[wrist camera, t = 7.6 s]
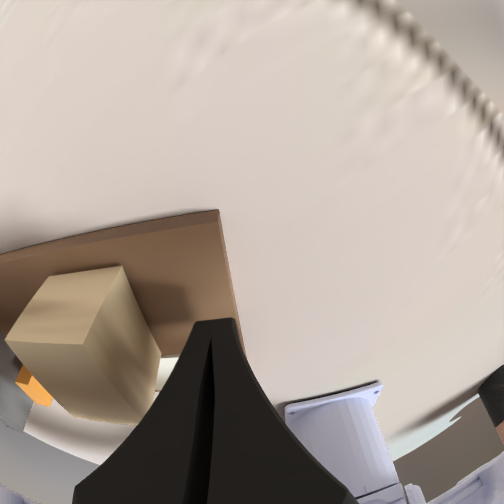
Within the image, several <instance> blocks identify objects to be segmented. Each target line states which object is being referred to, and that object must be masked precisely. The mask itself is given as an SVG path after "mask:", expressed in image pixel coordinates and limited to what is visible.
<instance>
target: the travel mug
mask: <svg viewBox="0 0 504 504" xmlns="http://www.w3.org/2000/svg"><path fill="white" fill-rule="evenodd" d="M478 394H479V396H480V398H481V399H482V402H483V403H484V405H485V407H486V409H487V411H488V414H489V416H490V417H491V420H492V422H493V424H494V426H495V428H496V430H497V432H498V434H499V436H500V438H501V440H502V443H503V444H504V365H503V366H501V367H500V368H499V369H498V370H496V371H495V372H494V373H493V374H492V375H491V376H490V377H489V378H488V379H487V380H486V381H485V382H484V383H483V384H482V386H481V387H480V388H479V390H478Z"/></svg>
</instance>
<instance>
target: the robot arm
mask: <svg viewBox="0 0 504 504" xmlns="http://www.w3.org/2000/svg"><path fill="white" fill-rule="evenodd" d="M382 388H383V384H382V382H378V383H374V384H371V385H368V386H365V387H361V388H358V389H354V390H350V391H347V392H343V393H339V394H335V395H331V396H327V397H322V398H318V399H313V400H308V401H303V402H298V403H292V404H288V405H286V406H285V422H284V421H283V420H282V418H281V417H280V416H279V414H278V413H277V411H276V410H275V408H274V407H273V406H272V404H271V403H270V401H269V399H268V398H267V396H266V395H265V393H264V391H263V390H262V388H261V386H260V384H259V383H258V381H257V379H256V377H255V375H254V373H253V371H252V369H251V367H250V365H249V363H248V361H247V359H246V356H245V354H244V352H243V349H242V346H241V343H240V339H239V334H238V329H237V325H236V320H235V319H234V318H232V317H229V318H221V319H212V320H203V321H196V322H195V323H194V325H193V328H192V330H191V332H190V335H189V337H188V339H187V342H186V344H185V346H184V348H183V350H182V352H181V354H180V356H179V358H178V360H177V362H176V364H175V366H174V368H173V370H172V372H171V374H170V376H169V377H168V379H167V381H166V383H165V384H164V386H163V388H162V389H161V391H160V393H159V395H158V396H157V398H156V399H155V401H154V402H153V404H152V405H151V407H150V408H149V410H148V411H147V413H146V414H145V416H144V417H143V418H142V420H141V421H140V422H139V424H138V425H137V426H136V427H135V429H134V430H133V431H132V432H131V434H130V435H129V436H128V437H127V438H126V440H125V441H124V442H123V443H122V444H121V445H120V446H119V447H118V448H117V449H116V450H115V451H114V452H113V453H112V454H111V456H110V457H109V458H108V459H107V460H106V461H105V462H104V463H103V464H101V465H100V466H99V467H98V468H97V469H96V470H95V471H93V472H92V473H91V474H90V475H89V476H87V477H86V478H85V479H84V480H82V481H81V482H80V483H79V484H78V485H76V486H75V489H74V494H73V501H72V504H408V503H409V504H504V452H502V453H501V454H500V455H499V456H497V457H496V458H494V459H493V460H491V461H490V462H488V463H486V464H484V465H483V466H481V467H479V468H478V469H476V470H475V471H473V472H472V473H471V474H470V475H468V476H466V477H465V478H463V479H462V480H461V481H459V482H458V483H457V485H456V486H455V487H453V488H452V489H450V490H448V491H447V492H445V493H443V494H442V495H440V496H438V497H437V498H435V499H433V500H431V501H430V502H428V503H426V502H425V499H424V496H423V494H422V491H421V489H420V487H419V486H417V485H412V484H408V485H406V486H404V487H405V490H406V493H407V500H408V503H407V500H406V497H405V493H404V490H403V487H402V484H401V483H399V479H398V476H397V473H396V470H395V467H394V465H393V462H392V459H391V456H390V453H389V450H388V448H387V445H386V442H385V439H384V437H383V434H382V431H381V429H380V426H379V423H378V421H377V418H376V416H375V413H374V410H373V406H374V404H375V402H376V400H377V398H378V396H379V394H380V392H381V390H382ZM397 483H399V484H397ZM396 484H397V485H396ZM394 485H395V486H394ZM389 487H390V488H389ZM0 504H39V503H37V502H35V501H34V500H32V499H30V498H28V497H26V496H23V495H21V494H19V493H17V492H15V491H13V490H11V489H9V488H7V487H6V486H4V485H3V484H1V483H0Z"/></svg>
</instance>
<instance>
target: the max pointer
mask: <svg viewBox="0 0 504 504" xmlns="http://www.w3.org/2000/svg"><path fill="white" fill-rule="evenodd" d="M15 383H16V384H17V385H18V386H19V387H20V388H21V389H22V390H23V391H24V392H25V393H26V394H27V395H28V396H29V397H30V398H31V399H32V400H33V401H34V402H35V403H36V404H40V405H44V406H48V407H50V404H51V401H52V398H53V397H52V396H51V395H50V394H49V393H48V392H47V391H46V390H45V389H44V388H43V386H42V385H41V384H40V383H39V382H38V381H37V380H36V379H35V378H34V377H33V375H32V374H31V373H30V372H29V371H28V370H27V368H26V367H25V366H24V365H23V366H22V368H21V370H20V372H19V374H18V376H17V378H16V380H15Z"/></svg>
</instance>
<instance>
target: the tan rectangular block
mask: <svg viewBox="0 0 504 504" xmlns="http://www.w3.org/2000/svg"><path fill="white" fill-rule="evenodd" d="M5 341H6V343H7V344H8V345H9V347H10V348H11V350H12V351H13V352H14V353H15V355H16V356H17V357H18V359H19V360H20V361H21V362H22V364H23V365H24V366H25V367H26V368H27V370H28V371H29V372H30V373H31V374H32V375H33V377H34V378H35V379H36V380H37V381H38V382H39V383H40V384H41V385H42V386H43V388H44V389H45V390H46V391H47V392H48V393H49V394H50V395H51V396H52V397H53V398H54V399H55V400H56V401H57V402H58V403H59V404H60V405H61V406H62V407H63V408H64V409H65V410H67V411H68V412H69V413H70V414H71V415H72V416H73V417H77V418H82V419H88V420H94V421H101V422H108V423H116V424H125V425H138V424H139V422H140V421H141V420H142V418H143V417H144V416H145V414H146V413H147V411H148V410H149V408H150V407H151V405H152V404H153V400H154V393H155V387H156V381H157V375H158V369H159V363H160V358H161V352H160V350H159V348H158V346H157V344H156V342H155V340H154V338H153V336H152V334H151V332H150V330H149V327H148V325H147V323H146V321H145V319H144V317H143V315H142V312H141V310H140V308H139V306H138V303H137V301H136V299H135V296H134V294H133V292H132V289H131V287H130V284H129V282H128V280H127V277H126V275H125V272H124V269H123V267H122V266H116V267H110V268H103V269H96V270H89V271H82V272H75V273H68V274H61V275H55V276H49V277H48V278H47V279H46V281H45V282H44V283H43V285H42V286H41V287H40V288H39V290H38V291H37V292H36V294H35V295H34V296H33V298H32V299H31V301H30V302H29V303H28V305H27V306H26V308H25V309H24V311H23V312H22V313H21V315H20V316H19V318H18V319H17V321H16V322H15V324H14V325H13V327H12V329H11V330H10V332H9V333H8V335H7V337H6V338H5Z"/></svg>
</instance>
